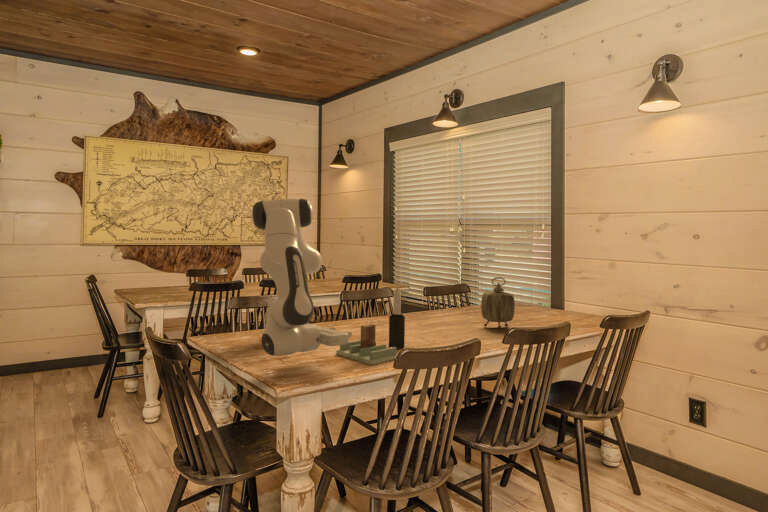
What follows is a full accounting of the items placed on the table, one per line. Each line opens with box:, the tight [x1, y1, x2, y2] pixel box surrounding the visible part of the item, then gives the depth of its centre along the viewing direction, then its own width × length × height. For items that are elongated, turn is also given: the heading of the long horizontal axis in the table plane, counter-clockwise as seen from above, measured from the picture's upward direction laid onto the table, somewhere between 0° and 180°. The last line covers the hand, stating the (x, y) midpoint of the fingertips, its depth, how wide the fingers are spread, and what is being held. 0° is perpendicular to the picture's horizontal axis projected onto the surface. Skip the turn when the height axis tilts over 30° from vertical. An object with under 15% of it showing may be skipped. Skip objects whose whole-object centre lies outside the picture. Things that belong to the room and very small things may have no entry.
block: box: [360, 323, 376, 349], centre depth 179 cm, size 5×2×10 cm, turn 133°
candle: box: [388, 284, 406, 349], centre depth 194 cm, size 5×5×25 cm
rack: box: [335, 339, 398, 366], centre depth 179 cm, size 14×20×4 cm
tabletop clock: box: [480, 276, 516, 329], centre depth 237 cm, size 14×9×25 cm, turn 97°
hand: (342, 331), depth 171 cm, fingers open, 8 cm apart
